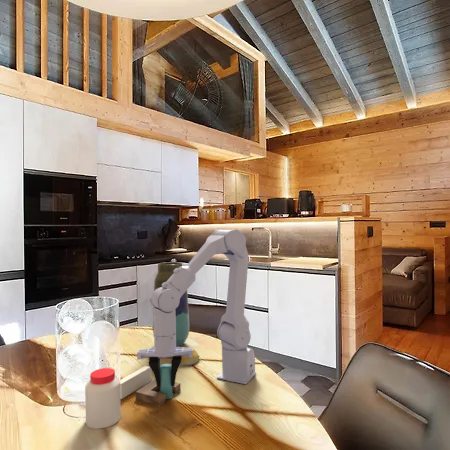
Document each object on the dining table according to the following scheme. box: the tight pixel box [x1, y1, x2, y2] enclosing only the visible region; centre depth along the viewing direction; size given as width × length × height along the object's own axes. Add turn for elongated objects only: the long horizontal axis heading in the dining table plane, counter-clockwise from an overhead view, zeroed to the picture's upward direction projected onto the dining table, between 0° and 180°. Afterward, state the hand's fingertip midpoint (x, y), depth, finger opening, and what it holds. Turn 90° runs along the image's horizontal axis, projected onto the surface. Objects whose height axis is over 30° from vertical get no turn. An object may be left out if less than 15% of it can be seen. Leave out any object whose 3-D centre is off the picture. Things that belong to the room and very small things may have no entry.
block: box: [135, 379, 181, 407], centre depth 93 cm, size 8×9×2 cm
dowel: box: [159, 363, 173, 400], centre depth 92 cm, size 3×3×8 cm
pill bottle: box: [84, 367, 122, 430], centre depth 81 cm, size 8×8×11 cm
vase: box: [152, 261, 190, 347], centre depth 132 cm, size 14×14×31 cm
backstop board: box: [119, 365, 152, 400], centre depth 97 cm, size 2×12×4 cm, turn 153°
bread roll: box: [180, 347, 200, 366], centre depth 116 cm, size 8×9×4 cm
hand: (166, 384), depth 91 cm, fingers closed on dowel, 3 cm apart
